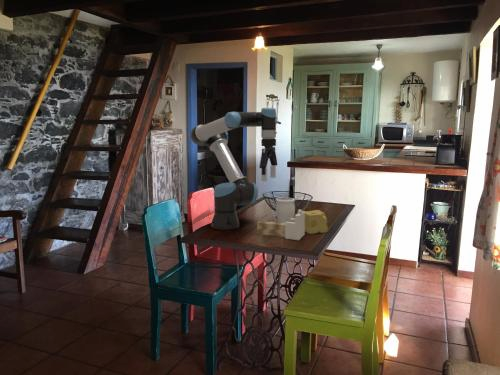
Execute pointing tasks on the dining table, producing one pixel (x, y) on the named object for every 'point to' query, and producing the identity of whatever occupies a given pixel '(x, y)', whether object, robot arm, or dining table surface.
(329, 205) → the dining table surface
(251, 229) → the dining table surface
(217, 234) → the dining table surface
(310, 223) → the cheese
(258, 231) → the rail
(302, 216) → the white u-channel bracket
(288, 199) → the white cup
